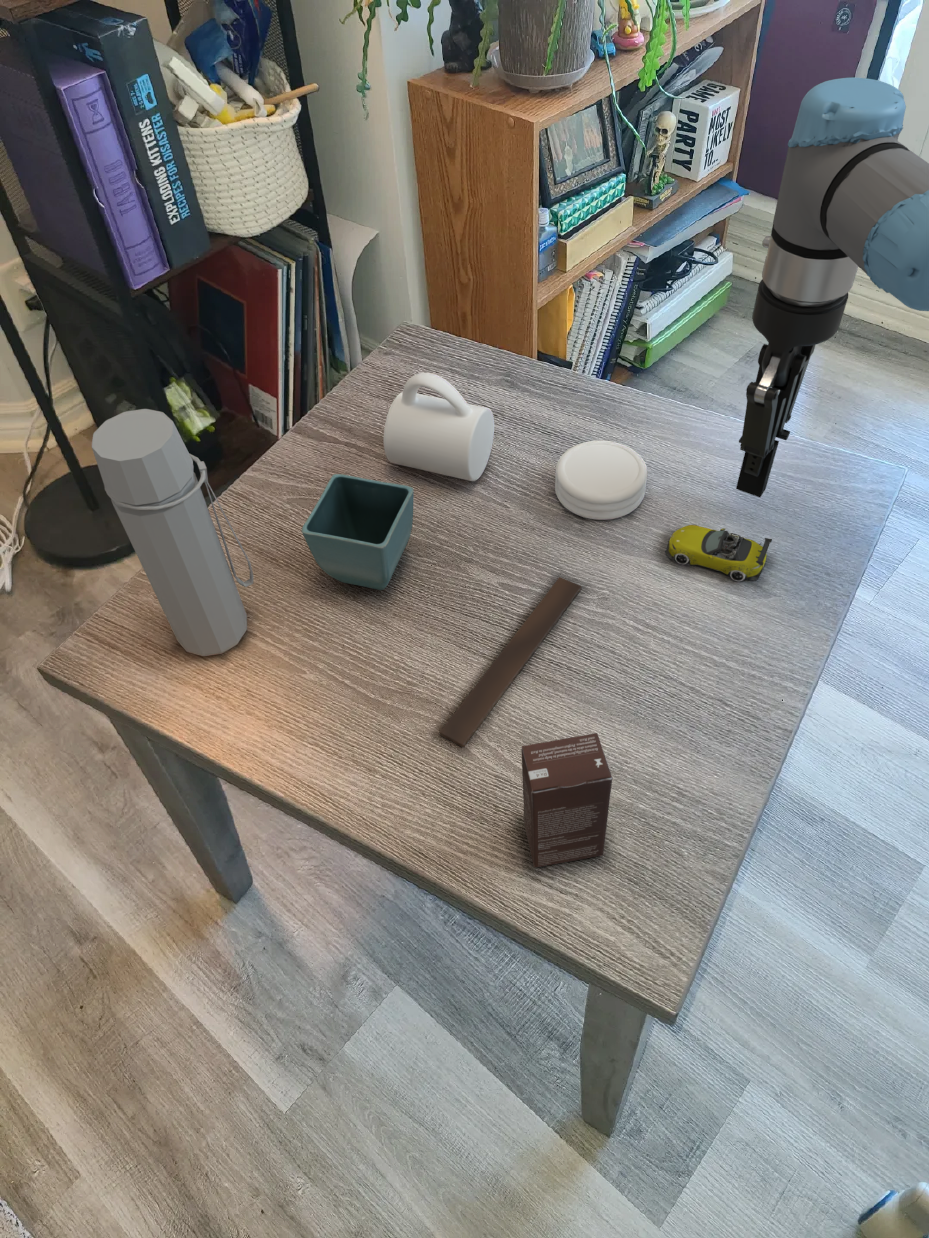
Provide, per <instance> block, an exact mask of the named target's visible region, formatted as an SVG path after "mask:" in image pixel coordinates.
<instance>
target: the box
mask: <svg viewBox="0 0 929 1238" xmlns="http://www.w3.org/2000/svg"><path fill="white" fill-rule="evenodd" d="M521 770H522V771H521V776H522V798H523V825H524V831H525V834H526V838H527V843H528V848H529V851H530V852H529V853H530V856H531V861H532V865H533V867H534V868H540V867H546V866H552V865H557V864H562V863H569V862H574V861H581V860H585V859H590V858H596V857H601V856H604V852H605V842H606V837H607V836H606V835H607V826H608V818H609V810H610V802H611V792H612V785H613V776H612V773H611V770H610V766H609V763H608V761H607V757H606V755H605V752H604V748H603V746H602V742H601V740H600V736H599V734H598V733H597V732H595V733H589V734H583V735H576V736H571V737H566V738H561V739H556V740H549V741H543V742H537V743H532V744H526V745H522V746H521Z"/></svg>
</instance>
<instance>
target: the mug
mask: <svg viewBox="0 0 929 1238" xmlns="http://www.w3.org/2000/svg"><path fill="white" fill-rule="evenodd" d="M420 388H425V389H426V388H427V389H429V390H432V391H433V392H435V393H437V394H438V395H440V396H441V397H437V396H432V395H427V394H424V393H423V394H422V393H418V391H419V389H420ZM494 437H495V418H494V413H493V411H492V410H491V408H489V407H486V406H482V405H476V404H471V403H468V402H467V401H466V399H465V398H464V396H463V395H462V394H461V392H459V390H457V389H456V387H455V386H454V385H453V384H451V383H450V382H449V381H448V380H447V379H445V378H444V377H442V376H441V375H438V374H435V373H432V372H419V373H416V374H414V375H412V376H410V378H408V379H407V381H406V382H405V383H404V385H403V389H402V391H401V392H400V393H398V394H397V396H395V397H394V399H393V401H392V403H391V404H390V407H389V409H388V412H387V415H386V418H385V423H384V429H383V451H384V454H385V457H386V459H387V460H388V461H389V462H390V463H391V464H394V465H399V466H403V467H408V468H412V469H416V470H420V471H425V472H430V473H434V474H439V475H442V476H447V477H452V478H455V479H461V480H465V481H470V482H475V481H477V480H479V478H481V477H482V475H483V473H484V471H485V470H486V467H487V465H488V462H489V460H490V456H491V453H492V449H493V444H494Z"/></svg>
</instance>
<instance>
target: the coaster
mask: <svg viewBox="0 0 929 1238" xmlns="http://www.w3.org/2000/svg"><path fill="white" fill-rule="evenodd" d="M557 460H558V461H557V462H556V465H555V476H554V481H555V482H554V492H555V494H556V497H557V499H558V501H559V502H560V504H561V505H562V506H563V508H565V509H567V510H568V511H569V512H571V513H572V514H575V515H577V516H580V517H583V518H584V519H585V518H586V519H589V520H597V521H598V520H600V521H601V520H602V521H604V520H605V521H606V520H614V519H618V518H622V517H624V516H627V515H629V514H631V513H632V512H633V511H635V510H636V509H638V507H639V506H640V504H641V503H642V502H643V500H644V498H645V496H646V489H647V483H648V481H647V480H648V476H649V475H648V473H649V472H648V471H649V470H648V468H647V464H646V462H645V460H644V459H643V457H642V456H641V455H640V454H639V453H638V452H637V451H636V450H634V449H632V448H631V447H629V446H627V445H625V444H623V443H619V442H616V441H612V440H599V439H597V440H588V441H585V442H581V443H578V444H576V445H573V446H571V447H569V448H568V449H567V450H565V451H564V453H562V454H561V455H560V457H559V459H557Z"/></svg>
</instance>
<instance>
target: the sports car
mask: <svg viewBox="0 0 929 1238" xmlns="http://www.w3.org/2000/svg"><path fill="white" fill-rule="evenodd" d="M772 541H773V538H768V537H764V542H763V545H761V544H762V542H760V543H758V542H756V541H755V540H753V539H751V538H746V537H744V536H741V535H740V534H737V533H733V532H729V530H727V529H726V528H725V527H723V528H720V529H719V530H717V529H713V528H708V527H705V526H704V527H703V526H700V525H698V524H688V525H684V526H683V527H680V528H678V529H676V530H675V531H674V532H673V533H672V534H671V536H670V539H669V541H668V542H667V545H666V548H665V549H666V550H665V551H664V552H665V554H666V556H667V557H668V558H669V559H670V560H673V561H674V560H675V562H676V563H677V564H679V565H687V564H688V563H689V565H690V566H699V567H704V568H707V569H710V570H714V571H718V572H720V573H722V574H725V575H728V576H729V577H730V579H731V580H733V581H735V582H742V581H744V580H749V581H755V582H757V580H758V579H759V578H760V576H761V574H762V573H763V570H764V567H765V565H766V561H767V552H768V550H769V548H770V545H771V543H772Z"/></svg>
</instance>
